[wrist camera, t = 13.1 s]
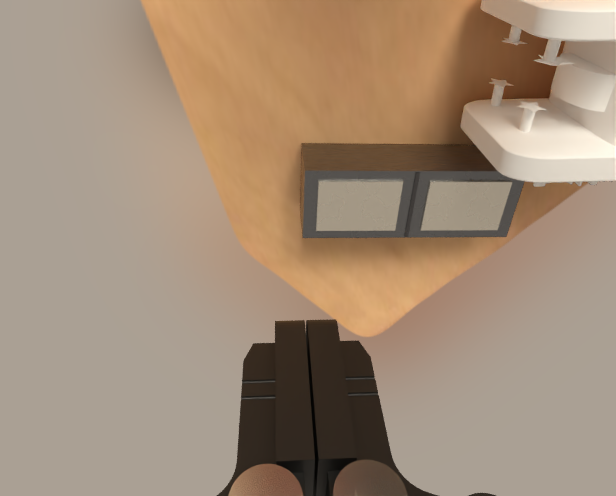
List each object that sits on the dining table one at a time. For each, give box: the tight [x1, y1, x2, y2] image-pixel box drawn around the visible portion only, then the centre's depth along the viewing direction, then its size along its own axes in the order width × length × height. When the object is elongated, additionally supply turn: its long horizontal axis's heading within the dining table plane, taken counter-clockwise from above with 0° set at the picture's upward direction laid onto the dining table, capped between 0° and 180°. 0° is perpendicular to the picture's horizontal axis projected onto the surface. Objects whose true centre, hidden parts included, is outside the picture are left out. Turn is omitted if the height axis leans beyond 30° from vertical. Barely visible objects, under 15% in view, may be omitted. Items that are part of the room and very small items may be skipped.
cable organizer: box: [460, 0, 616, 187], centre depth 32 cm, size 15×11×12 cm
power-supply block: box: [300, 143, 524, 238], centre depth 39 cm, size 6×17×5 cm, turn 88°
